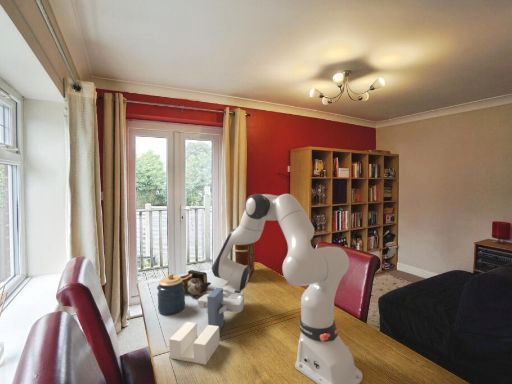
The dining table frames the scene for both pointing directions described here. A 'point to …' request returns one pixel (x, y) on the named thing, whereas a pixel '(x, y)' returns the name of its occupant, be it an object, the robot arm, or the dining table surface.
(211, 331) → the book stand
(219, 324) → the slim book
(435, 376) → the dining table surface
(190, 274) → the bookend
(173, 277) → the canister
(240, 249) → the decorative book
